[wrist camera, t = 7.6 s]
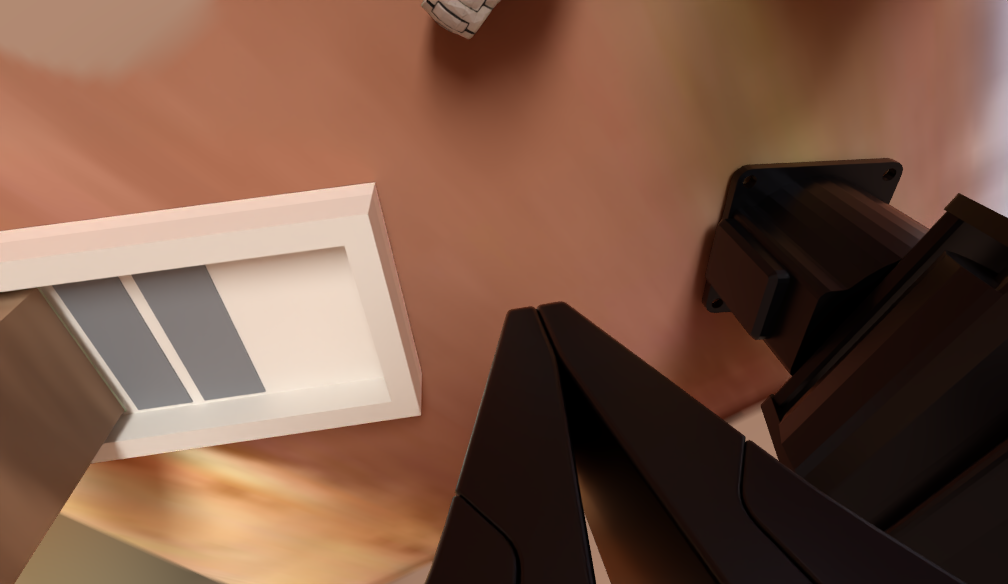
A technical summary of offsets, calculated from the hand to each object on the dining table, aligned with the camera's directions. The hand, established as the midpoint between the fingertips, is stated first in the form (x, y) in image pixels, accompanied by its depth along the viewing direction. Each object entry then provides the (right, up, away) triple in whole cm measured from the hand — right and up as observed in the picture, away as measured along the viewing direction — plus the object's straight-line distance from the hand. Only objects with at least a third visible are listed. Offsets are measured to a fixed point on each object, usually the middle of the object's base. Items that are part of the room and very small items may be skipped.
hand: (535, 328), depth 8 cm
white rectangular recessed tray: (-13, -1, +13) cm, 19 cm away
